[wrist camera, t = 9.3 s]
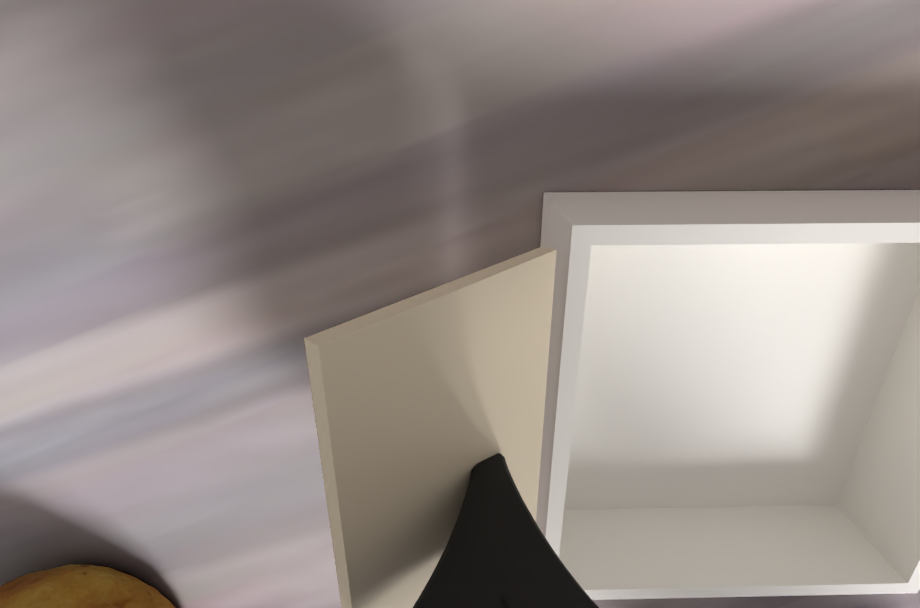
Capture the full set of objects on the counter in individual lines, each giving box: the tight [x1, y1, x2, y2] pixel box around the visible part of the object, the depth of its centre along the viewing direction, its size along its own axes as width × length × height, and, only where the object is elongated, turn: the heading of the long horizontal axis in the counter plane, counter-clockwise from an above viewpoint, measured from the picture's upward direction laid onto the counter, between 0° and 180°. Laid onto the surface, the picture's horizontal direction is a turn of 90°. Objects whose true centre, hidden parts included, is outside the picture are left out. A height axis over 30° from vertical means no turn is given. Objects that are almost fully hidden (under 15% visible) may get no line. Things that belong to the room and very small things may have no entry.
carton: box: [536, 190, 920, 600], centre depth 17 cm, size 13×13×4 cm
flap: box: [304, 246, 557, 608], centre depth 12 cm, size 6×12×1 cm
